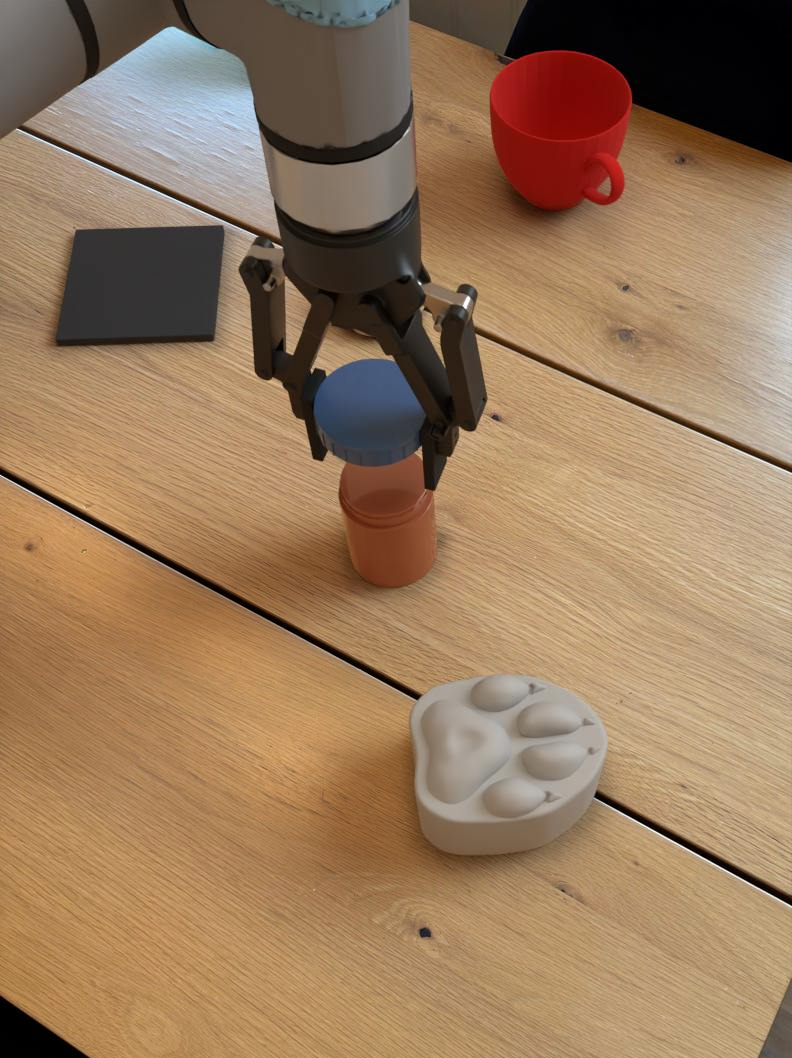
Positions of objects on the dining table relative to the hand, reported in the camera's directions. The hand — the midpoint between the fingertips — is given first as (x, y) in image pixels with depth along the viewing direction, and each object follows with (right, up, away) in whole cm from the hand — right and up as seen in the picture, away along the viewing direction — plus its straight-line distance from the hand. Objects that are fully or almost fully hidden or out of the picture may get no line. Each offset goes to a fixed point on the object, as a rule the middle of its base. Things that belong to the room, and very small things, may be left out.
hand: (379, 460), depth 74 cm
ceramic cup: (+15, +31, +29) cm, 45 cm away
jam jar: (0, -5, +10) cm, 12 cm away
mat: (-24, +20, +24) cm, 39 cm away
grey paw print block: (+9, -23, +1) cm, 25 cm away
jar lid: (0, +3, -5) cm, 6 cm away
